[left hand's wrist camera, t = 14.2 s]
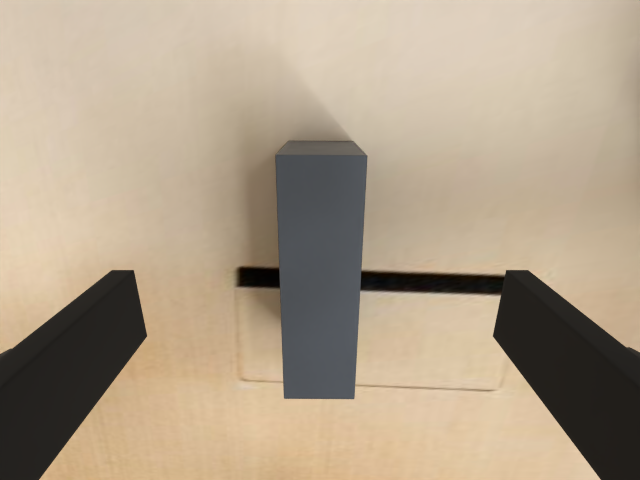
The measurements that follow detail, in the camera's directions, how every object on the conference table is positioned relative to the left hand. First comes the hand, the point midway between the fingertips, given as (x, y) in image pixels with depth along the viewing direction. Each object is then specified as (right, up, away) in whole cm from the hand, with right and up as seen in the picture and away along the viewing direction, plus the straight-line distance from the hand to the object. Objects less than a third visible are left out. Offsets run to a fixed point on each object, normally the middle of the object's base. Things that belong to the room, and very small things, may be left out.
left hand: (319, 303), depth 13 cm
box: (0, +2, +25) cm, 25 cm away
